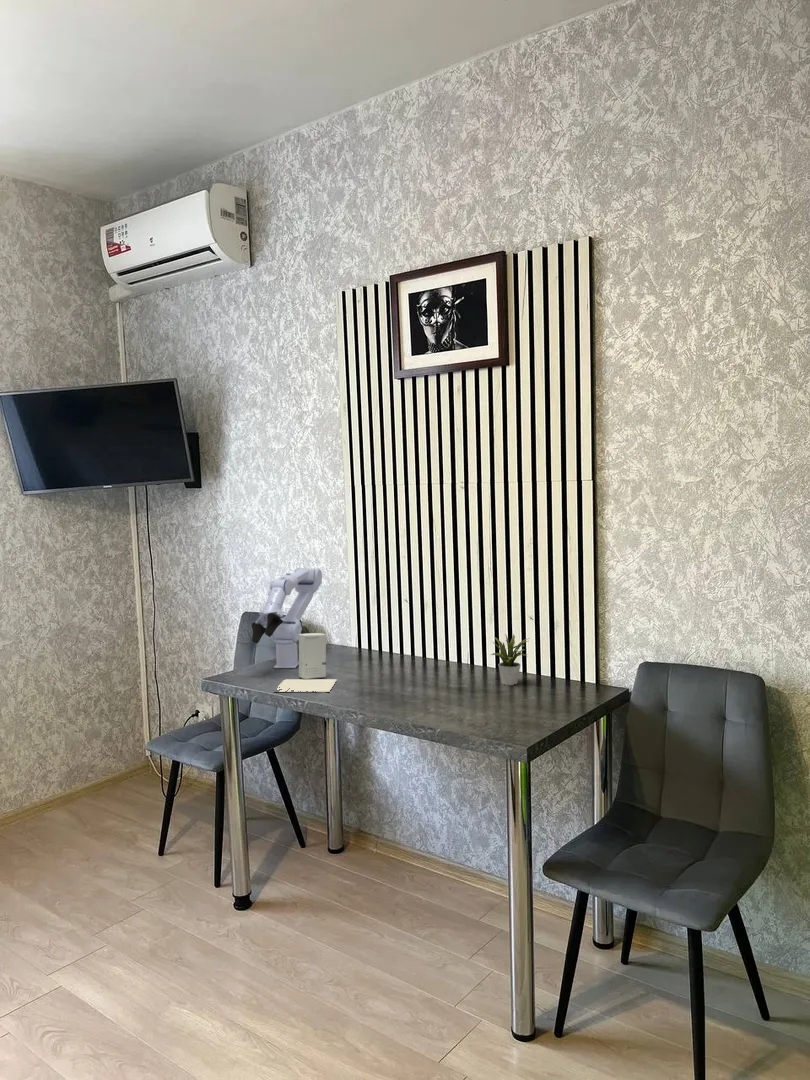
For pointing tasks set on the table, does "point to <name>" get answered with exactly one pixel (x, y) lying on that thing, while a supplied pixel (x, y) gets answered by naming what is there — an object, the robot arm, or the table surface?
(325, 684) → the mat
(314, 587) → the robot arm
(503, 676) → the house plant
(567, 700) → the table surface
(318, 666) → the skincare box
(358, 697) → the table surface
